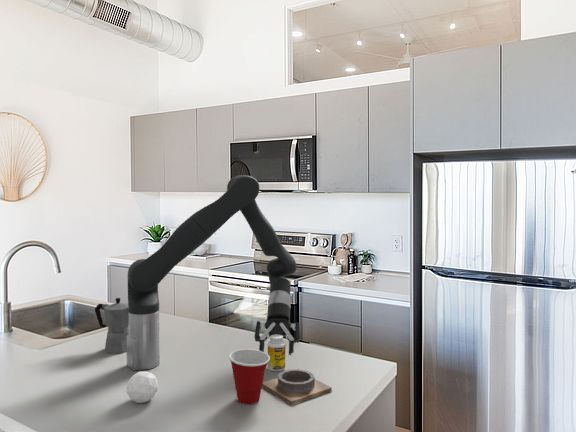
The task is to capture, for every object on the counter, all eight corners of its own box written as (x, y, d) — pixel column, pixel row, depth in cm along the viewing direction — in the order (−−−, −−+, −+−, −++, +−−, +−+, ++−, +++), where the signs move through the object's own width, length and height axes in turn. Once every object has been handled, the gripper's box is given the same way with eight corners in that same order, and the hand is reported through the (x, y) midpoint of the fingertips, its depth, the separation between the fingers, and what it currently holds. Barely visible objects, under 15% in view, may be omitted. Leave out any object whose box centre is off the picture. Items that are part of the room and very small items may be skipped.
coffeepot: (142, 346, 160) (142, 295, 159) (128, 355, 150) (128, 302, 150) (103, 343, 163) (102, 293, 162) (87, 352, 153) (86, 299, 152)
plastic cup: (264, 411, 113) (264, 364, 112) (223, 407, 115) (223, 360, 114) (274, 392, 123) (274, 349, 123) (236, 389, 125) (236, 346, 125)
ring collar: (291, 405, 116) (291, 391, 116) (261, 386, 127) (261, 374, 127) (331, 391, 125) (331, 378, 124) (300, 374, 136) (300, 363, 136)
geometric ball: (150, 411, 118) (161, 393, 114) (119, 405, 115) (129, 386, 111) (153, 387, 124) (164, 368, 121) (125, 380, 121) (134, 361, 118)
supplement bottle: (273, 373, 136) (273, 340, 136) (264, 367, 141) (264, 335, 141) (288, 369, 139) (289, 337, 139) (279, 363, 144) (279, 332, 144)
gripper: (256, 301, 147) (252, 347, 136) (300, 302, 146) (299, 348, 136) (258, 312, 153) (254, 358, 142) (300, 313, 152) (299, 359, 141)
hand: (276, 353), depth 139 cm, fingers open, 8 cm apart
